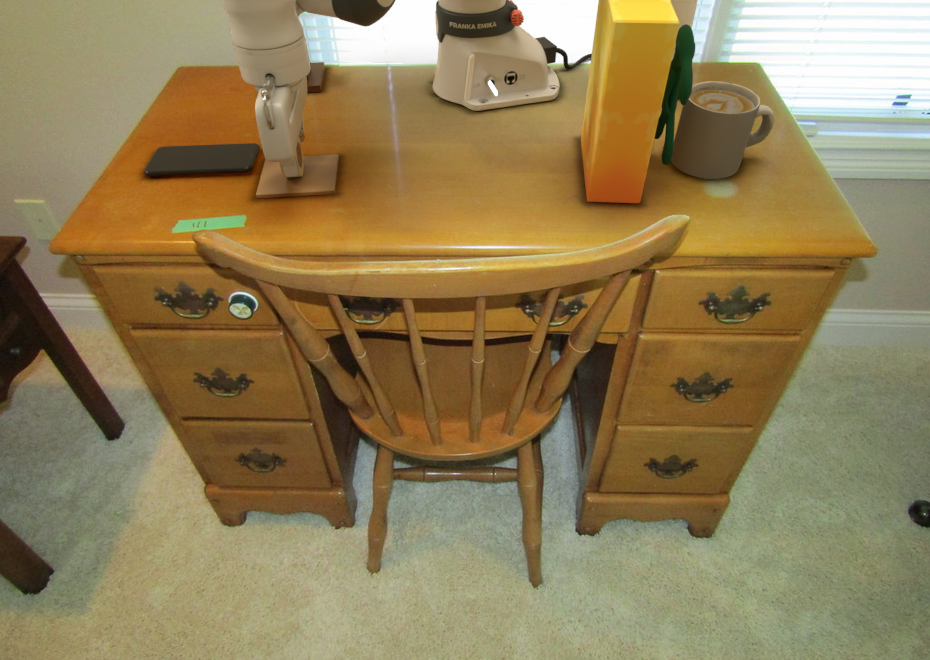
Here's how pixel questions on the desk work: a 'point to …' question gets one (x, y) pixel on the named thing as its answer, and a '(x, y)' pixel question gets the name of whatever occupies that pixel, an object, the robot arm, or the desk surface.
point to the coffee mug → (718, 129)
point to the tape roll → (299, 160)
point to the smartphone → (202, 159)
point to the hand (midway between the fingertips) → (295, 156)
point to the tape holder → (315, 76)
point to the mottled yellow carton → (632, 94)
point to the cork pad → (300, 178)
